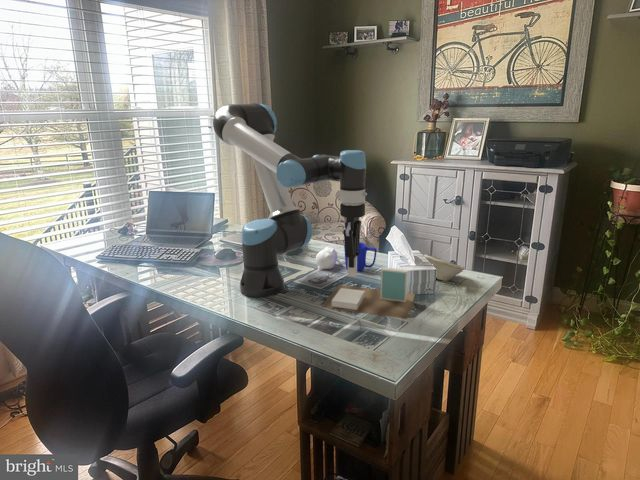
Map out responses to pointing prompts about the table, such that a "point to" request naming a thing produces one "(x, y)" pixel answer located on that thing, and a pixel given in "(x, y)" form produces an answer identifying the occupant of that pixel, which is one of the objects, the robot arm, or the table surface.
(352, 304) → the tile
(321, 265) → the crumpled paper ball
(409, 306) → the board
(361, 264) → the mug
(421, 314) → the table surface
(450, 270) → the bowl
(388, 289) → the tile
